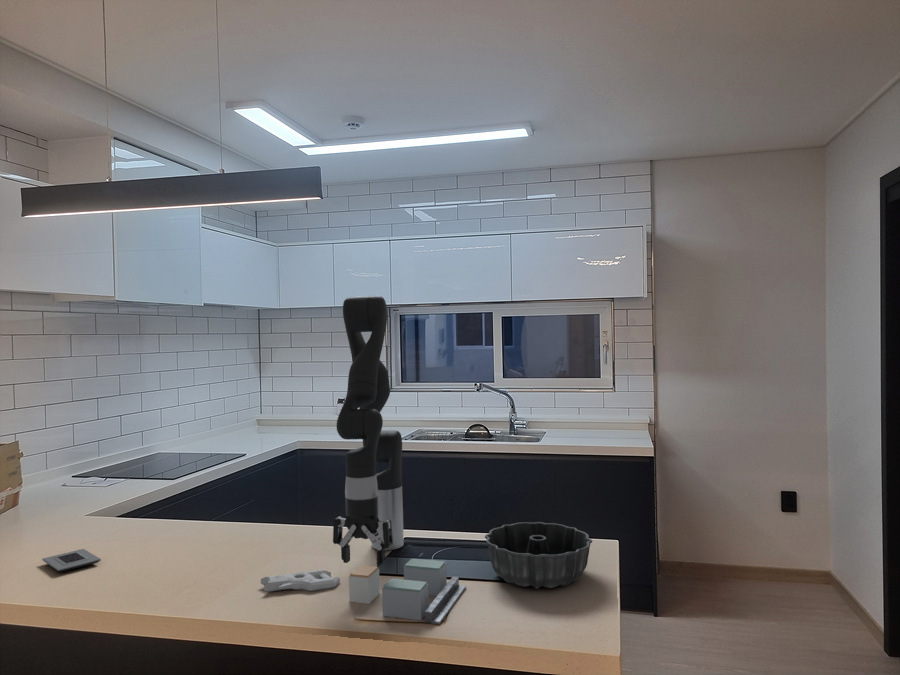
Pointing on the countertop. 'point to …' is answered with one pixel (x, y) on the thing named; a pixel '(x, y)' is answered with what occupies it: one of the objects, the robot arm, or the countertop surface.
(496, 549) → the bundt pan
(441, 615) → the rail
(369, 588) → the block
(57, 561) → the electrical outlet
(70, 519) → the countertop surface
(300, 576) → the grey flat plastic piece
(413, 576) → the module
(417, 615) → the block
